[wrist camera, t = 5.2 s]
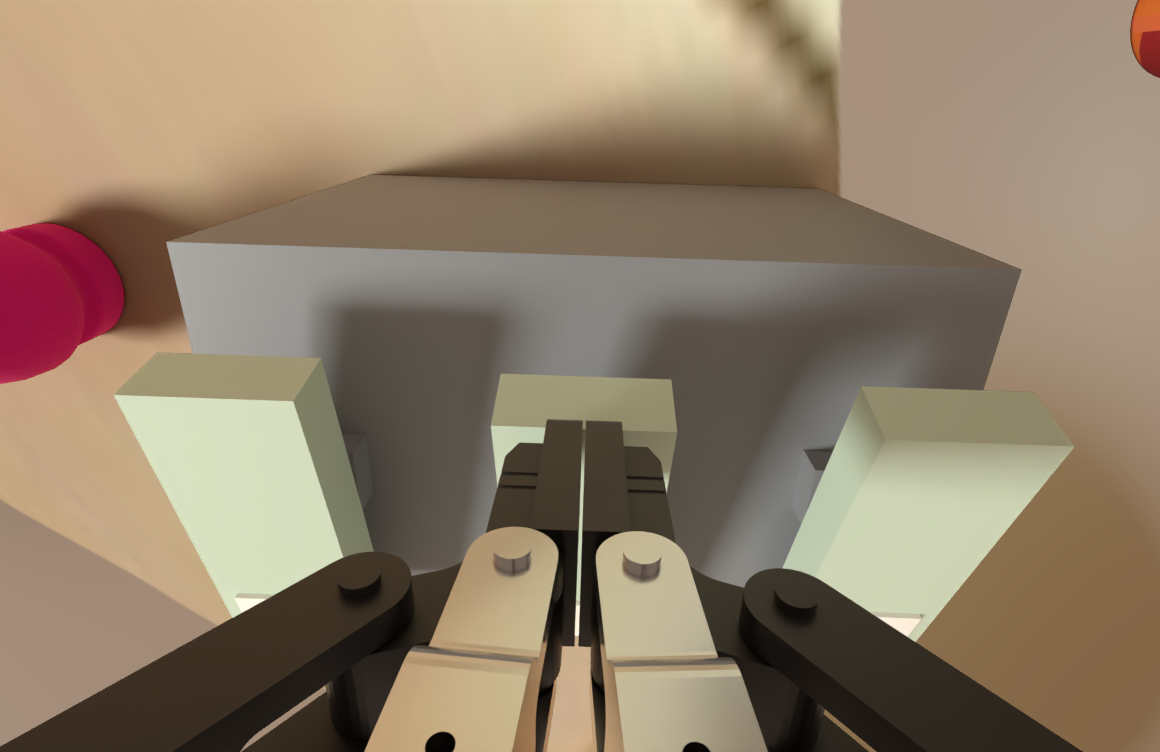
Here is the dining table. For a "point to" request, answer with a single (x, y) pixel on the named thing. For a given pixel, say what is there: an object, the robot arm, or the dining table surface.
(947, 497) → the rocker
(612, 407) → the block
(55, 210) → the dining table surface
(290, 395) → the block
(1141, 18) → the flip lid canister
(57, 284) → the pepper mill
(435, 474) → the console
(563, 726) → the dining table surface
